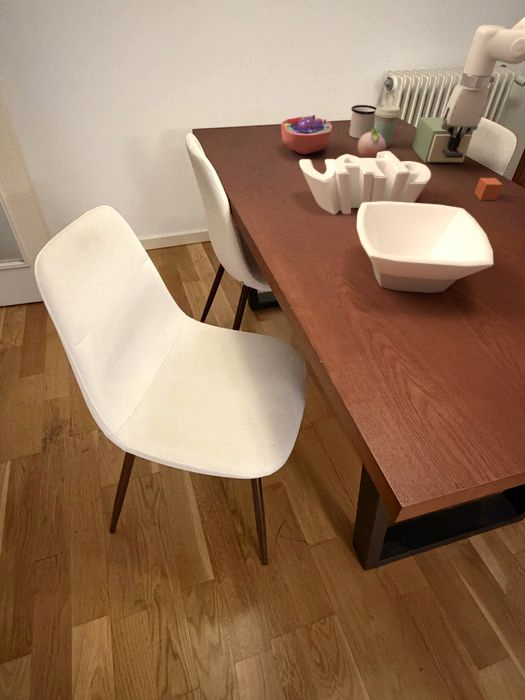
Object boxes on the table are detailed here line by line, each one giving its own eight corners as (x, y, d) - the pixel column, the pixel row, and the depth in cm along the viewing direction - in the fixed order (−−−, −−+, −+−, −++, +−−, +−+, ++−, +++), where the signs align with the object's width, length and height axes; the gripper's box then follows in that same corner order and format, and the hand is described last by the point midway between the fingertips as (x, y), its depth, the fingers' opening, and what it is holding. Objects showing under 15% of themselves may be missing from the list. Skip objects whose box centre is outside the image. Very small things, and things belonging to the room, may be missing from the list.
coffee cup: (378, 139, 147) (386, 102, 139) (397, 146, 143) (406, 108, 134) (363, 144, 143) (370, 106, 135) (382, 151, 139) (390, 112, 130)
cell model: (329, 142, 144) (333, 107, 136) (328, 163, 130) (332, 124, 122) (282, 140, 146) (284, 104, 138) (276, 160, 132) (278, 121, 124)
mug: (371, 140, 147) (377, 113, 140) (346, 138, 148) (350, 110, 142) (373, 130, 155) (378, 104, 148) (349, 128, 156) (353, 102, 150)
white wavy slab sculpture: (300, 214, 105) (304, 173, 97) (295, 188, 116) (298, 149, 109) (433, 215, 105) (446, 174, 98) (415, 188, 117) (426, 150, 110)
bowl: (346, 240, 96) (353, 198, 88) (454, 247, 94) (471, 205, 87) (350, 303, 78) (360, 257, 71) (483, 313, 77) (506, 267, 69)
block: (489, 193, 115) (495, 177, 112) (495, 200, 112) (502, 184, 109) (474, 193, 115) (480, 177, 112) (480, 200, 112) (486, 184, 109)
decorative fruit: (352, 157, 135) (358, 124, 128) (376, 156, 135) (383, 124, 128) (358, 167, 128) (364, 133, 121) (383, 167, 128) (391, 133, 121)
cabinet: (462, 162, 132) (473, 131, 125) (424, 162, 132) (433, 130, 125) (446, 147, 142) (456, 117, 136) (411, 147, 142) (419, 117, 135)
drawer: (468, 167, 127) (478, 141, 121) (433, 167, 127) (441, 140, 121) (448, 147, 140) (456, 122, 134) (416, 147, 140) (422, 122, 134)
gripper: (494, 78, 116) (470, 146, 129) (444, 77, 116) (424, 145, 129) (506, 85, 111) (479, 154, 124) (453, 84, 110) (431, 154, 123)
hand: (451, 150), depth 126 cm, fingers closed
